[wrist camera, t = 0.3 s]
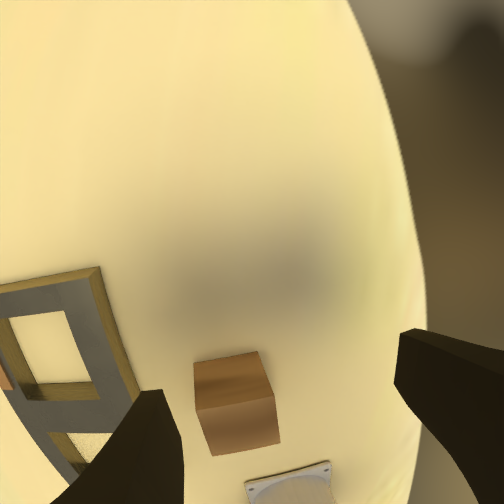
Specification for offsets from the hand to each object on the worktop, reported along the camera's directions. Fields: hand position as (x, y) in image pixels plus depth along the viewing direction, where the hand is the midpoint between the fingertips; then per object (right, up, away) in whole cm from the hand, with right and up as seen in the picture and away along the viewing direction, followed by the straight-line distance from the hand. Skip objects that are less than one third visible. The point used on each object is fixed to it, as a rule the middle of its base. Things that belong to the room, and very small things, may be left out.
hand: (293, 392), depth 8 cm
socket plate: (-13, -6, +9) cm, 17 cm away
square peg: (-3, -4, +11) cm, 12 cm away
